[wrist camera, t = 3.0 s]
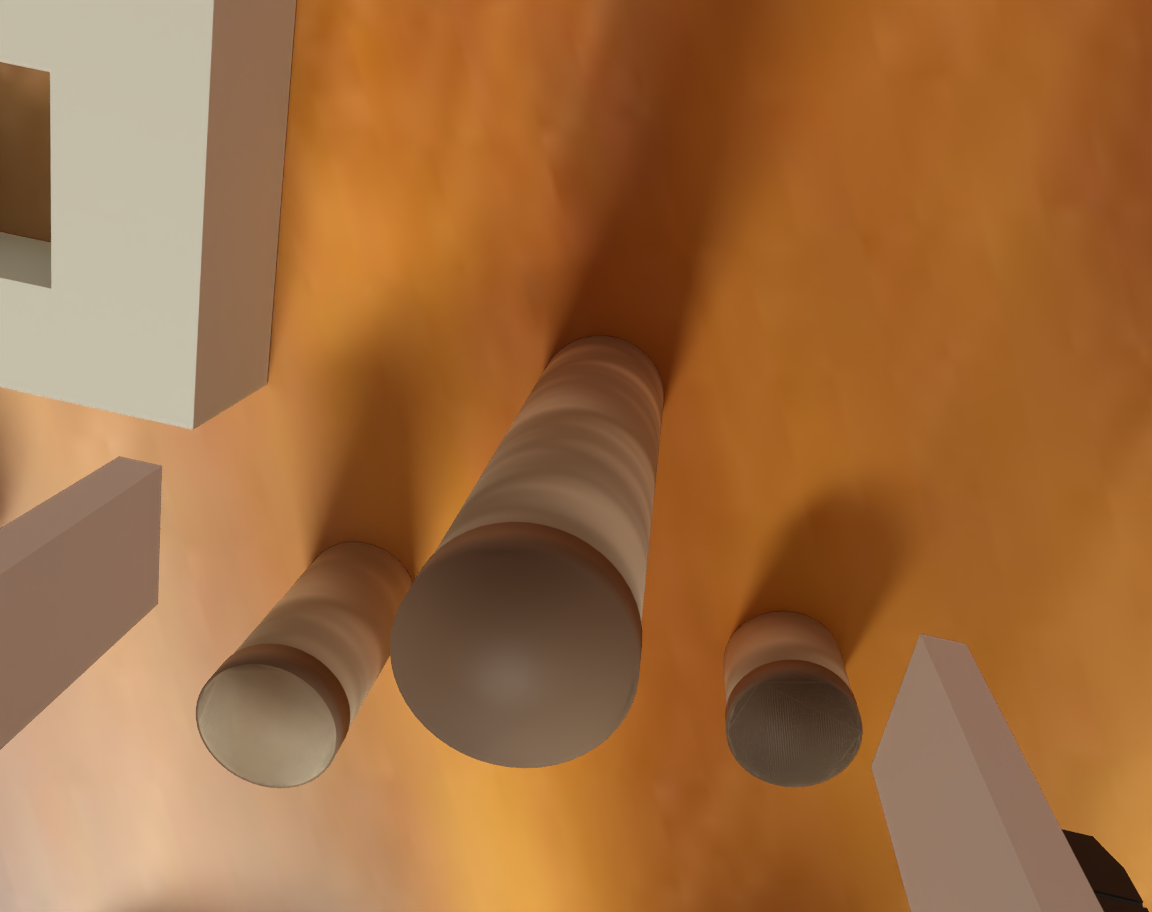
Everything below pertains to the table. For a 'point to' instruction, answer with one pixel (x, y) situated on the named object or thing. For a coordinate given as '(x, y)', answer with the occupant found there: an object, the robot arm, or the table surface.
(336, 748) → the medium dowel
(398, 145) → the table surface
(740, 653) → the short dowel
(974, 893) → the robot arm
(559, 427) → the long dowel
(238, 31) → the hole block
